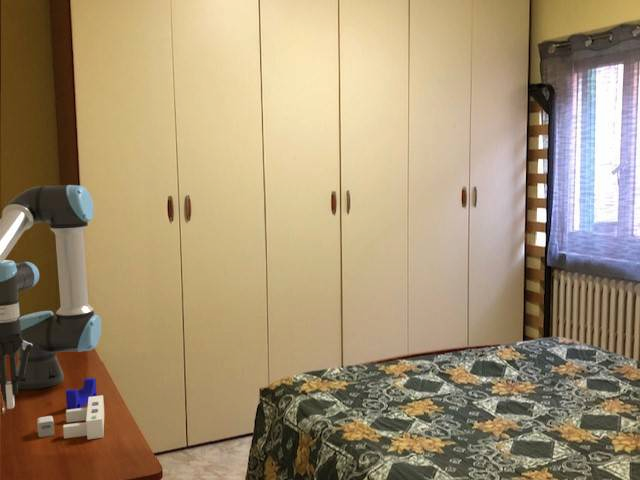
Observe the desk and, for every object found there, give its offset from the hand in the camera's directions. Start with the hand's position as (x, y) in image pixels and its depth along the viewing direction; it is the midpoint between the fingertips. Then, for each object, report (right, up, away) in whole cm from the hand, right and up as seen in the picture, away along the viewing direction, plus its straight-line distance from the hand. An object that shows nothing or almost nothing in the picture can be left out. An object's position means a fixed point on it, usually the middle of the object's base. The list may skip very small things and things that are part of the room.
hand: (11, 406), depth 190 cm
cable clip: (+10, -5, +25) cm, 28 cm away
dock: (+19, -7, +7) cm, 21 cm away
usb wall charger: (+8, -8, +3) cm, 12 cm away
